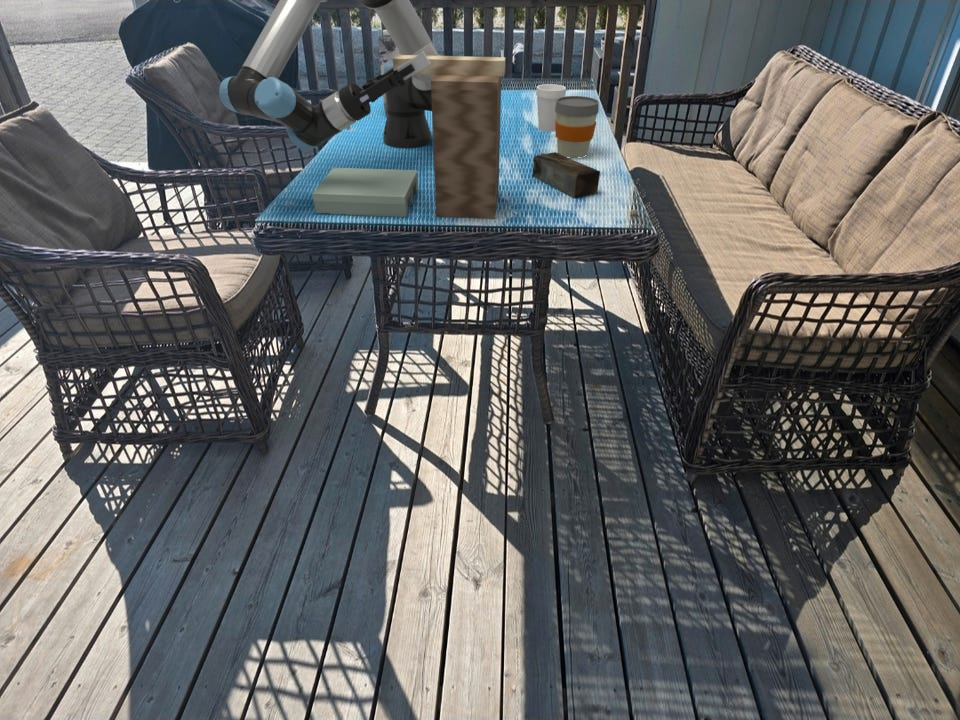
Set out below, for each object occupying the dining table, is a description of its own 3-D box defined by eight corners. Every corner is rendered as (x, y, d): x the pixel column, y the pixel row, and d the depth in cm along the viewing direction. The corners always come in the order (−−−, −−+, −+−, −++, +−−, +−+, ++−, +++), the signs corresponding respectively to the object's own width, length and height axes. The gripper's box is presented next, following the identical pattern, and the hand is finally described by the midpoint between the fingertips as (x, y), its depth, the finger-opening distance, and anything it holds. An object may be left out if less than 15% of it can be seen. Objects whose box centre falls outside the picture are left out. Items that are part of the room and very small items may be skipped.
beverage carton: (554, 172, 168) (556, 148, 164) (599, 194, 155) (602, 169, 151) (531, 177, 165) (532, 153, 161) (575, 200, 152) (577, 174, 148)
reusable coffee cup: (544, 155, 179) (547, 102, 170) (563, 144, 187) (568, 93, 178) (582, 163, 173) (588, 109, 164) (600, 152, 182) (606, 99, 173)
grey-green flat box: (315, 213, 143) (312, 193, 140) (336, 186, 158) (333, 167, 155) (406, 217, 142) (404, 197, 139) (418, 189, 156) (417, 170, 153)
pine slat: (393, 73, 130) (392, 58, 128) (397, 69, 133) (396, 54, 131) (504, 76, 128) (504, 60, 126) (505, 72, 131) (505, 57, 129)
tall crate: (436, 216, 142) (430, 80, 124) (444, 191, 155) (440, 65, 137) (494, 218, 141) (497, 82, 123) (498, 193, 154) (501, 66, 136)
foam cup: (558, 134, 196) (562, 91, 188) (531, 131, 198) (533, 89, 191) (564, 126, 203) (568, 85, 195) (538, 123, 206) (541, 83, 198)
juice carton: (414, 111, 217) (409, 27, 201) (408, 119, 209) (402, 32, 192) (390, 110, 218) (383, 27, 202) (383, 118, 209) (375, 31, 193)
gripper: (368, 108, 147) (445, 60, 139) (345, 135, 129) (432, 81, 122) (350, 80, 143) (428, 28, 135) (324, 103, 126) (412, 45, 118)
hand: (430, 53), depth 128 cm, fingers open, 9 cm apart
